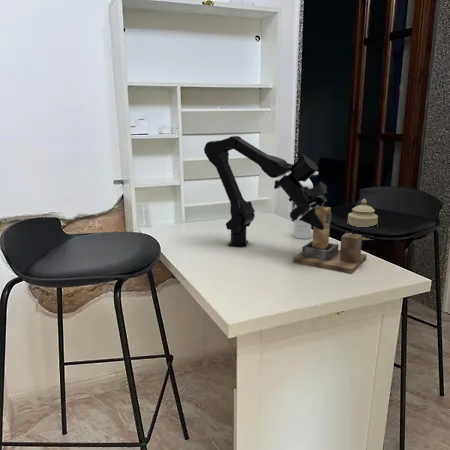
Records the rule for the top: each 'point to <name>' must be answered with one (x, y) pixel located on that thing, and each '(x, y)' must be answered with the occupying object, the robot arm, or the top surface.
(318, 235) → the beige block
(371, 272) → the top surface
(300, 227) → the water bottle
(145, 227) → the top surface
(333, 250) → the wooden fixture board
